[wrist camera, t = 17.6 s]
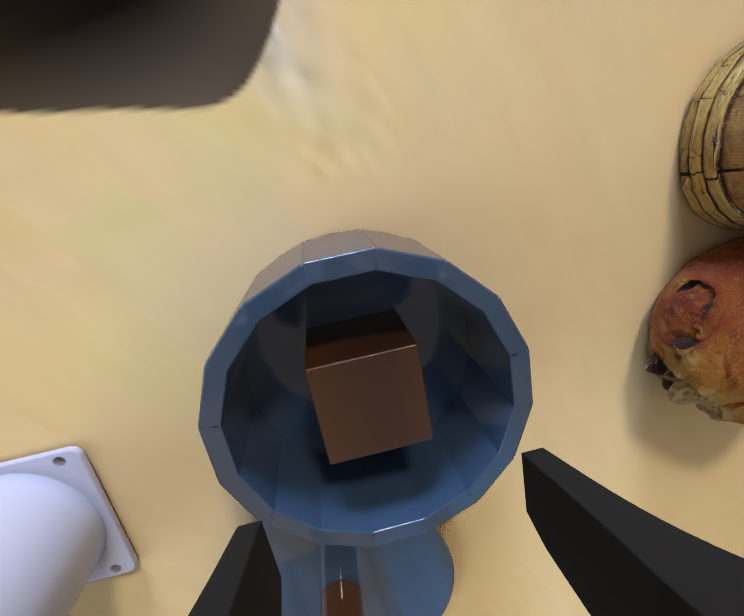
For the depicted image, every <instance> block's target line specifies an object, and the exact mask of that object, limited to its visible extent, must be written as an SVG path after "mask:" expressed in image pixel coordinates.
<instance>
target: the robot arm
mask: <svg viewBox="0 0 744 616" xmlns="http://www.w3.org/2000/svg"><path fill="white" fill-rule="evenodd" d="M58 457H61V458H63V459H64V460H65V461H62V460H60V459H59V458H58ZM522 464H523V475H524V486H525V498H526V509H527V513H528V515H529V517H530V519H531V521H532V522H533V524H534V526H535V528H536V530H537V532H538V534H539V536H540V538H541V540H542V542H543V543H544V545H545V547H546V549H547V550H548V552H549V553H550V555H551V557H552V558H553V560H554V561H555V563H556V564H557V566H558V567H559V569H560V570H561V572H562V573H563V575H564V576H565V578H566V579H567V581H568V582H569V584H570V585H571V587H572V588H573V590H574V591H575V593H576V594H577V596H578V597H579V599H580V600H581V602H582V603H583V605H584V606H585V608H586V609H587V611H588V612H589V613H590V615H591V616H744V558H742V557H739V556H737V555H735V554H732V553H730V552H728V551H725V550H723V549H721V548H719V547H716V546H714V545H712V544H710V543H708V542H706V541H704V540H702V539H699V538H697V537H695V536H693V535H691V534H689V533H687V532H685V531H683V530H681V529H679V528H677V527H675V526H673V525H671V524H669V523H667V522H665V521H663V520H661V519H659V518H657V517H656V516H654V515H652V514H650V513H648V512H646V511H645V510H643V509H641V508H639V507H637V506H635V505H634V504H632V503H630V502H628V501H627V500H625V499H623V498H622V497H620V496H618V495H617V494H615V493H613V492H612V491H610V490H608V489H607V488H605V487H603V486H602V485H600V484H598V483H597V482H595V481H594V480H592V479H590V478H589V477H587V476H586V475H584V474H583V473H581V472H580V471H578V470H576V469H575V468H573V467H572V466H570V465H569V464H567V463H566V462H564V461H563V460H561V459H559V458H558V457H556V456H555V455H553V454H552V453H550V452H549V451H547V450H545V449H544V448H540V449H536V450H532V451H528V452H524V453H522ZM137 563H138V558H137V556H136V554H135V552H134V550H133V548H132V546H131V544H130V542H129V540H128V538H127V536H126V534H125V532H124V530H123V528H122V526H121V524H120V522H119V520H118V518H117V516H116V514H115V512H114V510H113V508H112V506H111V504H110V502H109V500H108V498H107V496H106V494H105V492H104V490H103V488H102V486H101V484H100V482H99V480H98V478H97V476H96V474H95V472H94V470H93V468H92V466H91V464H90V462H89V460H88V458H87V456H86V454H85V452H84V451H83V450H82V449H81V448H79V447H77V446H68V447H64V448H60V449H56V450H52V451H47V452H43V453H39V454H35V455H31V456H26V457H22V458H18V459H14V460H10V461H5V462H1V463H0V616H68V615H69V613H70V611H71V609H72V608H73V606H74V604H75V602H76V600H77V598H78V597H79V595H80V593H81V591H82V589H83V588H84V586H85V584H86V583H90V582H94V581H98V580H102V579H106V578H109V577H113V576H117V575H121V574H125V573H128V572H131V571H133V570H134V569H135V567H136V565H137ZM117 565H118V566H117ZM188 616H282V582H281V574H280V572H279V569H278V566H277V563H276V560H275V558H274V555H273V552H272V549H271V546H270V544H269V541H268V538H267V535H266V532H265V529H264V527H263V524H262V521H257V522H254V523H250V524H246V525H242V526H238V528H237V529H236V531H235V532H234V534H233V536H232V538H231V540H230V542H229V544H228V545H227V547H226V549H225V551H224V553H223V555H222V557H221V559H220V560H219V562H218V564H217V566H216V568H215V570H214V571H213V573H212V575H211V577H210V579H209V581H208V582H207V584H206V586H205V587H204V589H203V591H202V593H201V594H200V596H199V598H198V600H197V601H196V603H195V605H194V607H193V608H192V610H191V612H190V614H189V615H188Z"/></svg>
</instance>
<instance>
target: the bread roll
mask: <svg viewBox="0 0 744 616" xmlns="http://www.w3.org/2000/svg"><path fill="white" fill-rule="evenodd" d="M647 353H648V355H649V357H650V360H649V363H648V364H646V365H645V366H646V370H647V371H649V372H652V373H655V374H657V375H659V376H660V378H661V379H662V380H663V383H662V385H663V387H664V389H666V390H667V391H668V392H669V393H670V394H668V397H669V400H670V401H673V402H675V403H678V404H685V403H694V404H695V405H696V406H697V408H698V409H700V410H702V411H704V412H705V413H706V414H708V415H709V416H710V418H711V419H714V420H719V422H720V421H730V422H736V423H740V424H744V237H741V238H737V239H735V240H733V241H731V242H727V243H724V244H723V245H721V246H720V247H718V248H715V249H712V250H710V251H708V252H706V253H704V254H703V255H701V256H699V257H697V258H695V259H694V260H692V261H691V262H689V263H688V264H687V265H686V266H685V267H684V268H682V269H681V270H680V271H679V272H678V273H677V274H676V275H675V276H674V277H673V278H672V279H671V281H670V282H669V283H668V284H667V286H666V287H665V288H664V289H663V290H662V292H661V293H660V294H659V296H658V298H657V300H656V302H655V304H654V306H653V309H652V312H651V315H650V318H649V321H648V347H647Z"/></svg>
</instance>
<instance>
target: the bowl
mask: <svg viewBox="0 0 744 616" xmlns="http://www.w3.org/2000/svg"><path fill="white" fill-rule="evenodd" d="M392 310H396V311H397V312H398V314H399V316H400V317H401V319H402V320H403V322H404V324H405V325H406V327H407V328H408V330H409V332H410V333H411V335H412V336H413V338H414V340H415V341H416V343H417V344H418V348H419V354H420V360H421V366H422V372H423V378H424V384H425V390H426V396H427V402H428V408H429V414H430V420H431V425H432V431H433V439H431V440H427V441H423V442H419V443H415V444H411V445H408V446H404V447H400V448H396V449H392V450H388V451H384V452H380V453H376V454H372V455H368V456H364V457H360V458H356V459H352V460H348V461H344V462H340V463H336V464H332V465H331V464H330V463H329V459H328V456H327V452H326V448H325V445H324V441H323V437H322V434H321V430H320V426H319V423H318V419H317V415H316V412H315V408H314V404H313V401H312V397H311V393H310V390H309V386H308V382H307V378H306V375H305V347H306V330H308V329H313V328H317V327H322V326H326V325H330V324H335V323H339V322H343V321H348V320H352V319H357V318H361V317H365V316H370V315H374V314H379V313H383V312H387V311H392ZM532 404H533V398H532V385H531V371H530V358H529V349H528V346H527V344H526V342H525V341H524V339H523V337H522V335H521V334H520V332H519V330H518V328H517V327H516V325H515V323H514V321H513V320H512V318H511V316H510V314H509V313H508V311H507V309H506V307H505V306H504V304H503V302H502V300H501V299H500V298H499V297H498V295H496V294H495V293H493V292H492V291H491V290H489V289H488V288H486V287H485V286H483V285H482V284H480V283H479V282H478V281H476V280H475V279H473V278H472V277H470V276H469V275H467V274H466V273H465V272H463V271H462V270H460V269H459V268H457V267H456V266H454V265H453V264H452V263H450V262H449V261H447V260H446V259H444V258H442V257H441V256H439V255H438V254H436V253H434V252H433V251H431V250H430V249H428V248H426V247H425V246H423V245H422V244H420V243H419V242H417V241H415V240H413V239H409V238H404V237H399V236H396V235H392V234H388V233H383V232H375V231H367V230H353V231H345V232H338V233H331V234H328V235H324V236H321V237H317V238H314V239H311V240H306V241H305V242H302V243H301V244H299V245H298V246H296V247H294V248H293V249H291V250H289V251H288V252H286V253H284V254H283V255H281V256H280V257H279V258H277V259H276V260H275V261H274V262H272V263H271V264H270V265H269V266H268V267H266V268H265V269H263V270H262V271H260V273H259V274H257V276H256V277H255V279H254V281H253V282H252V284H251V286H250V287H249V289H248V290H247V292H246V293H245V295H244V297H243V299H242V300H241V302H240V303H239V305H238V307H237V308H236V310H235V312H234V313H233V315H232V316H231V318H230V320H229V322H228V324H227V325H226V327H225V329H224V331H223V332H222V334H221V336H220V338H219V339H218V341H217V343H216V345H215V347H214V348H213V350H212V352H211V354H210V355H209V357H208V359H207V361H206V364H205V366H204V373H203V383H202V393H201V403H200V412H199V422H198V427H199V428H198V429H199V432H200V434H201V437H202V440H203V442H204V445H205V447H206V450H207V453H208V455H209V458H210V460H211V463H212V466H213V468H214V471H215V473H216V476H217V479H218V481H219V483H220V484H221V485H222V486H223V487H224V488H225V489H226V490H227V491H228V492H229V493H230V494H231V495H232V496H233V497H234V498H235V499H236V500H237V501H238V502H239V503H240V504H241V505H242V506H243V507H244V508H246V509H247V510H248V511H249V512H250V513H251V514H252V515H253V516H254V517H255V518H256V519H257V520H258V521H262V523H263V524H265V525H268V526H270V527H273V528H275V529H278V530H280V531H283V532H285V533H288V534H290V535H293V536H295V537H298V538H300V539H303V540H305V541H308V542H310V543H313V544H316V545H336V546H358V547H373V546H374V547H376V546H380V545H383V544H387V543H391V542H395V541H398V540H402V539H406V538H410V537H413V536H417V535H421V534H424V533H428V532H429V531H432V530H434V529H435V528H437V527H438V526H440V525H441V524H443V523H445V522H446V521H448V520H449V519H451V518H453V517H454V516H456V515H457V514H459V513H460V512H462V511H464V510H465V509H467V508H468V507H470V506H472V505H473V504H475V503H476V502H477V501H478V500H480V499H481V497H482V496H483V495H484V494H485V493H486V491H487V490H488V489H489V488H490V486H491V485H492V484H493V483H494V482H495V480H496V479H497V478H498V477H499V475H500V474H501V473H502V472H503V471H504V469H505V468H506V467H507V466H508V465H509V463H510V462H511V461H512V460H513V458H514V456H515V454H516V451H517V448H518V445H519V443H520V440H521V437H522V434H523V431H524V428H525V425H526V422H527V419H528V417H529V414H530V411H531V408H532Z"/></svg>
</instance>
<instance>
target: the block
mask: <svg viewBox="0 0 744 616" xmlns="http://www.w3.org/2000/svg"><path fill="white" fill-rule="evenodd" d="M305 375H306V378H307V382H308V386H309V390H310V393H311V397H312V401H313V404H314V408H315V412H316V415H317V419H318V423H319V426H320V430H321V434H322V437H323V441H324V445H325V448H326V452H327V456H328V459H329V463H330V464H331V465H332V464H336V463H340V462H344V461H348V460H352V459H356V458H360V457H364V456H368V455H372V454H376V453H380V452H384V451H388V450H392V449H396V448H400V447H404V446H408V445H411V444H415V443H419V442H423V441H427V440H431V439H433V431H432V425H431V420H430V414H429V408H428V402H427V396H426V390H425V384H424V378H423V372H422V366H421V360H420V354H419V348H418V344H417V343H416V341H415V340H414V338H413V336H412V335H411V333H410V332H409V330H408V328H407V327H406V325H405V324H404V322H403V320H402V319H401V317H400V316H399V314H398V312H397V311H396V310H392V311H387V312H383V313H379V314H374V315H370V316H365V317H361V318H357V319H352V320H348V321H343V322H339V323H335V324H330V325H326V326H322V327H317V328H313V329H308V330H306V347H305Z"/></svg>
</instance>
